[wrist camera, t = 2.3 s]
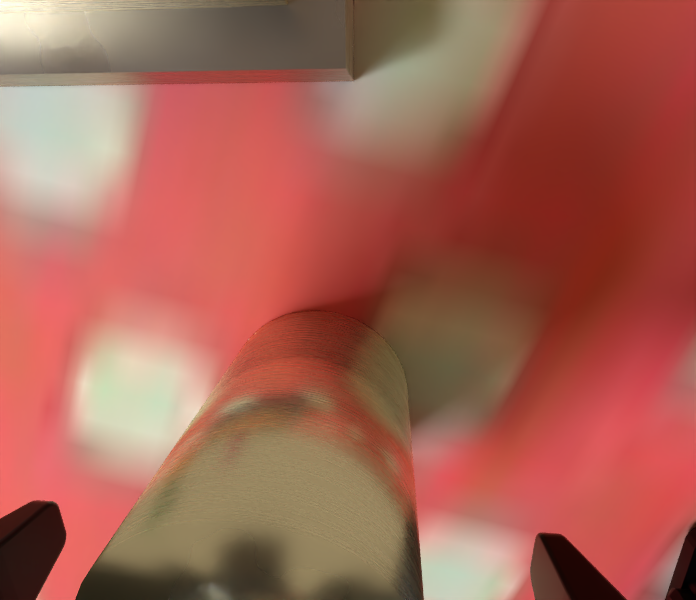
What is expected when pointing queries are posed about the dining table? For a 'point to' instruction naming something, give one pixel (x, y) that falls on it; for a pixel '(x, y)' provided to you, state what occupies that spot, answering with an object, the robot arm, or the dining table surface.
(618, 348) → the dining table surface
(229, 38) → the open square box
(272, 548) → the spout can
